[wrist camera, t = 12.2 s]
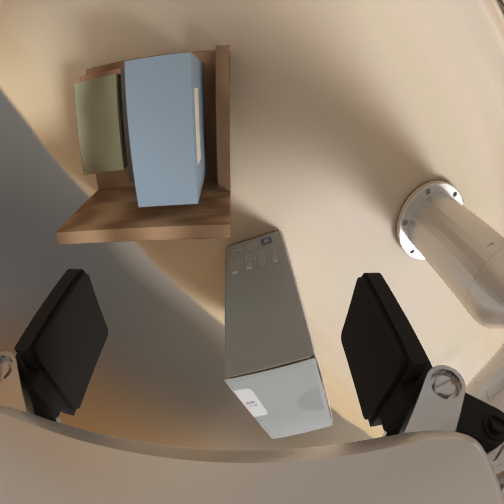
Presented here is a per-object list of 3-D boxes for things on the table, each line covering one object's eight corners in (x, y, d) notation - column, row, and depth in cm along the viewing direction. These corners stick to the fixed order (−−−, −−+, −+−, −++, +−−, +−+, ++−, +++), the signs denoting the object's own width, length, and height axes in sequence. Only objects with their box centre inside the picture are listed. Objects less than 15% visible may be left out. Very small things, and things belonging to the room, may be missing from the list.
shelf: (229, 51, 26) (228, 30, 16) (230, 188, 34) (230, 237, 24) (89, 69, 25) (29, 70, 15) (103, 195, 33) (59, 244, 23)
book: (203, 63, 25) (191, 51, 17) (207, 169, 32) (198, 203, 23) (155, 67, 25) (124, 61, 17) (162, 172, 31) (138, 207, 23)
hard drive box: (223, 245, 38) (221, 378, 21) (280, 227, 37) (319, 353, 20) (258, 325, 46) (272, 441, 29) (305, 312, 45) (336, 426, 29)
